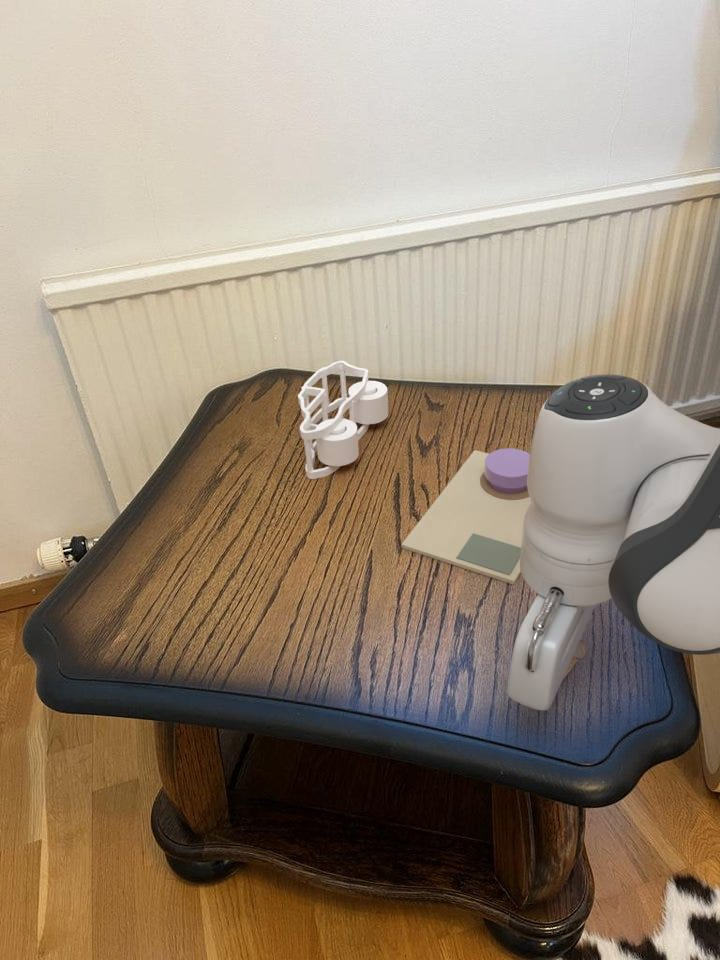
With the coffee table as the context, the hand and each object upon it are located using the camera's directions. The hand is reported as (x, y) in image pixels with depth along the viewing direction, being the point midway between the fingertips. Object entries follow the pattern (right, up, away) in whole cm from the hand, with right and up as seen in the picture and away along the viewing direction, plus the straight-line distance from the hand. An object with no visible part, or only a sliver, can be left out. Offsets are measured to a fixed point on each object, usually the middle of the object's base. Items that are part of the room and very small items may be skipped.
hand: (558, 664), depth 72 cm
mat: (-3, +14, +22) cm, 26 cm away
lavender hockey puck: (0, +17, +25) cm, 31 cm away
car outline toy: (-22, +23, +37) cm, 49 cm away
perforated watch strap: (0, -2, +1) cm, 2 cm away
